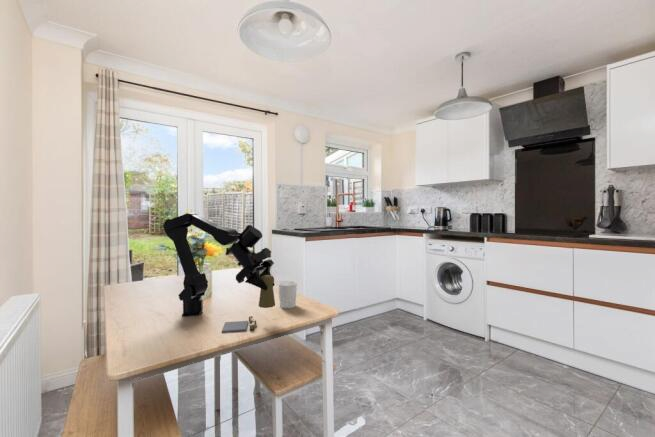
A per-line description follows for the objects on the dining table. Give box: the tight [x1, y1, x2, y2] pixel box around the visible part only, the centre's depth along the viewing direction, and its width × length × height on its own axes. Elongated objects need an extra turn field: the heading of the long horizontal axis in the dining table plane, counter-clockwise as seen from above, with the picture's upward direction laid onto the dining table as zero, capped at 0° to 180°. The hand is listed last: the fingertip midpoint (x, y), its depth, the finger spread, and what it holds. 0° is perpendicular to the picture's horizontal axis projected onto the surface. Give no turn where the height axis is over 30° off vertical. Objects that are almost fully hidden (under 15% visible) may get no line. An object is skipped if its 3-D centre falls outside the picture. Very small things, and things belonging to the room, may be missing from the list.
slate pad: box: [221, 320, 249, 334], centre depth 107 cm, size 8×8×1 cm
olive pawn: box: [258, 274, 276, 309], centre depth 111 cm, size 6×6×11 cm
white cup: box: [277, 280, 298, 309], centre depth 130 cm, size 8×8×10 cm
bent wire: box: [248, 315, 257, 332], centre depth 108 cm, size 3×10×2 cm, turn 11°
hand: (270, 287), depth 110 cm, fingers closed on olive pawn, 5 cm apart
